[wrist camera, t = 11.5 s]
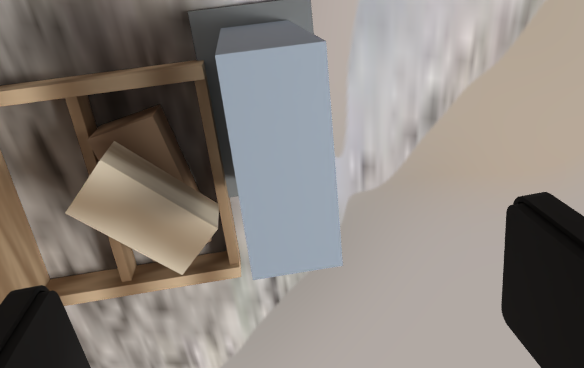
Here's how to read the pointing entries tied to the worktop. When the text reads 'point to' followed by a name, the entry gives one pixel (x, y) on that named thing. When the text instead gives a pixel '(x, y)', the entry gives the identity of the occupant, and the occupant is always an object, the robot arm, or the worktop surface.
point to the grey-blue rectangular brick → (281, 145)
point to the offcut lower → (145, 142)
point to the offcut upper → (146, 209)
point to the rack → (8, 209)
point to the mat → (205, 37)
